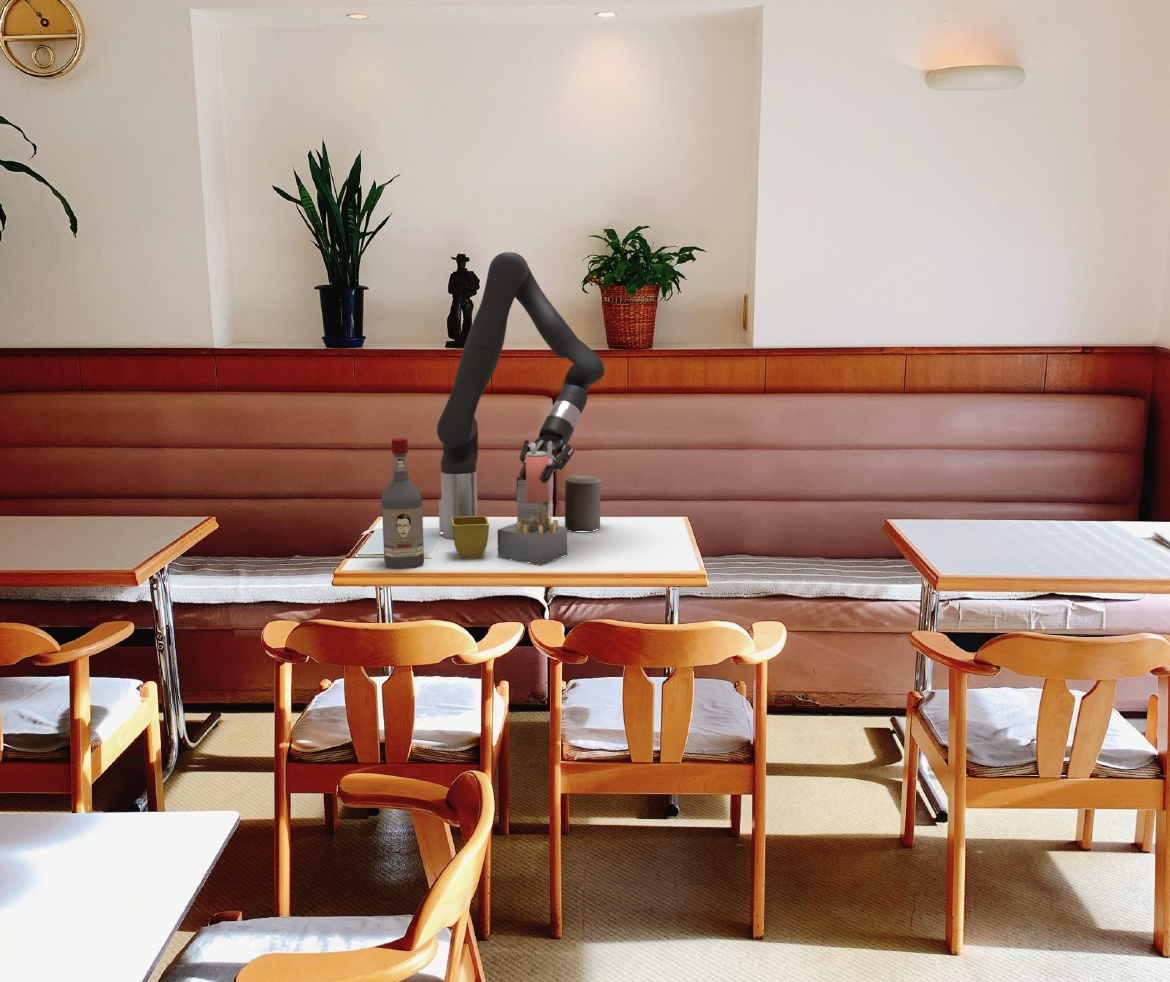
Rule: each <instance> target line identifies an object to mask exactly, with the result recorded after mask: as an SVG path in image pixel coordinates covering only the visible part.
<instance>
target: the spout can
mask: <svg viewBox="0 0 1170 982" xmlns="http://www.w3.org/2000/svg"><path fill="white" fill-rule="evenodd" d="M525 456H526V501H528V502H534V503H540V502H546V501H548V502H549V499H550V496H549V495H550V494H549V493H550V492H549V491H550V489H549V484H550V483H549V480H548V481H547V483H543V482H542V481H541V479H540V477H541V475H542V472H543V470H544V468H545V467H546V466H548V455H547V452H544V451H536V444H535V443H531V452H527V455H525Z"/></svg>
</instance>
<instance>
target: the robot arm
mask: <svg viewBox="0 0 1170 982" xmlns="http://www.w3.org/2000/svg"><path fill="white" fill-rule="evenodd" d="M483 290H484V291H483V294H482V299H481V302H480V305H479V308H478V309H477V312H476V314H475V317H474V319H473V322H472V324H471V327H470V329H469V332H468V335H467V336H466V337H467V338H466V340H465V343H464V347H463V348H462V353H461V357H460V359H459V363H458V366H457V370H456V374H455V377H454V382H453V387H452V390H451V392H450V395H449V397H448V400H447V402H446V404H445V407H444V409H443V411H442V413H441V415H440V417H439V420H438V422H437V426H436V432H437V433H436V434H437V437H438V439H439V441H440V442H441V443H442V444H443V445H442V446H443V450H442V455H441V459H440V483H441V484H440V487H441V488H440V490H441V498H439V499H438V518H439V519H438V520H439V521H438V523H439V526H438V527H439V533H440V532H443V535H442V536H443V537H444V538H446V539H451V540H452V539H453V540H454V538H453V531H452V522H451V517H468V516H478V492H477V491H478V486H477V485H478V484H477V483H478V480H477V462H478V457H479V430H478V429H479V428H478V427H479V426H478V422H477V419H476V417H475V414H476V411H477V407H478V404H479V402H480V399H481V397H482V394H483V393H484V392H485V389H486V387H487V386H488V385H489V383H490V381H491V378H492V377H493V374H494V372H495V371H496V369H497V365H498V363H499V359H500V357H501V354H502V351H503V347H504V344H505V338H506V332H507V326H508V325H507V324H508V318H509V315H510V310H511V307H512V304H513V303H514V300H515V299H516V300H517V301H518V302H519V303H520V304H521V306H522V307H523V308H524V310H525V312H526V313H527V314H528V316H529V317H530V320H531V321H532V322H533V324H534V326H535V328H536V330H537V332H538V333H539V335H540V336H541V337H542V339H543V340H544V341H545V343H546V344H547V346H548V347H549V348H550V350H551V351H552V352H553V354H554V355H555V356H556V357H557V358H559V359H568V360H569V361H571V363H573V364H572V365H571V366H570V367H569V368H568V370H567V371H566V374H565V377H564V379H563V383H562V388H561V390H560V393H559V395H558V396H557V398H556V401H555V402H554V404H553V406H552V407H551V408H550V410H549V412H548V414H547V416H546V418H545V420H544V422H543V424H542V425H541V427H540V430H539V435H538V437H537V438H536V439H535V441H529V440H528V439H526V440H524V441H523V445H522V448H521V451H520V455H519V460H520V462H521V463H522V464H523V465H522V467H521V469H520V471H519V476H520V477H521V478H522V480H526V456H525V455H527V452H531V443H535V444H536V451H544V452H547V455H548V466H546V467H545V468H544V470H543V472H542V475H541V477H540V479H541V481H542V482H543V483H547V481H548V482H549V480H550V479H551V477H552V475H553V473H554V472H555V471H556V470H560V471H561V470H563V469H564V468H565V466H566V465H567V464H568V462H569V461H570V459H571V458H572V456H573V455H574V453H575V451H574V449H573V448H572V446H571V445H570V444H569V442H570V440H571V437H572V436H573V434H574V432H575V429H576V428H577V426H578V423H579V420H580V417H581V415H582V414H583V411H584V408H585V407H586V405H587V402H588V394H587V392H588V391H589V388H590V387H591V386H593V385H594V384H596V383H597V382H599V381H600V380H601V379H602V378H603V376H604V375H605V370H606V369H605V365H604V362H603V360H602V359H601V357H600V355H598V354H597V353H596V352H595V351H594V350H593V349H591V348H590V347H589V346H588V345H587V344H586V343H584V342H583V341H582V340H580V339H579V338H578V336H577V335H576V334H575V333H574V331H573V330H572V329H571V327H570V326H569V324H568V323H567V322H566V320H565V319H564V318H563V317H562V315H561V314H560V313H559V312H558V310H557V309H556V308H555V306H554V305H553V304H552V303H551V301H549V299H548V298H547V297H546V294H545V293H544V292H543V290H542V289H541V287H540V285H539V284H538V282H537V280H536V279H535V277H534V274H533V273H532V270H531V269H530V267H529V265H528V262H527V261H526V259H525V258H524V257H523V256H522V255H521V254H519V253H517V252H514V251H513V252H511V251H508V252H507V251H504V252H502V253H499V254H498V255H495V257H494V258H493V259H492V260H491V262H490V264H489V267H488V272H487V277H486V282H485V286H484V289H483Z"/></svg>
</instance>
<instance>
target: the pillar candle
mask: <svg viewBox="0 0 1170 982" xmlns="http://www.w3.org/2000/svg"><path fill="white" fill-rule="evenodd" d="M564 481H565V483H564V484H565V485H564V527H567V531H568V530H571V531H593V530H596V529H599V528H600V529H601V486H602V484H601V483H602V479H601V478H600V477H596V476H590V475H583V474H581V475H574V476H573V475H572V476H568V477H566V478H565V480H564ZM600 529H599V530H600Z"/></svg>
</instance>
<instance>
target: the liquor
mask: <svg viewBox="0 0 1170 982" xmlns="http://www.w3.org/2000/svg"><path fill="white" fill-rule="evenodd" d="M408 441H409V440H408V439H407V438H404V437H401V438H400V437H398V438H392V439H391V453H392V454H393V477H392V481H390V483H389V484H388V486H386V488H385V489H384V491H383V492H382V495H381V508H382V509H381V510H382V511H381V517H382V534H383V535H382V537H383V559H384V565H385V566H386V568H388V569H389V568H390V569H394V570H398V569H414V568H419V567H422V566H423V565H424V563H425V547H424V515H423V499H422V495H421V493H420V490H419V489H418V488H417V487H416V486H415V484H413V482H412V481H411V480H410V478H409V473H408V459H407V458H408V456H407V455H408V454H407V453H409V446H408Z"/></svg>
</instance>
